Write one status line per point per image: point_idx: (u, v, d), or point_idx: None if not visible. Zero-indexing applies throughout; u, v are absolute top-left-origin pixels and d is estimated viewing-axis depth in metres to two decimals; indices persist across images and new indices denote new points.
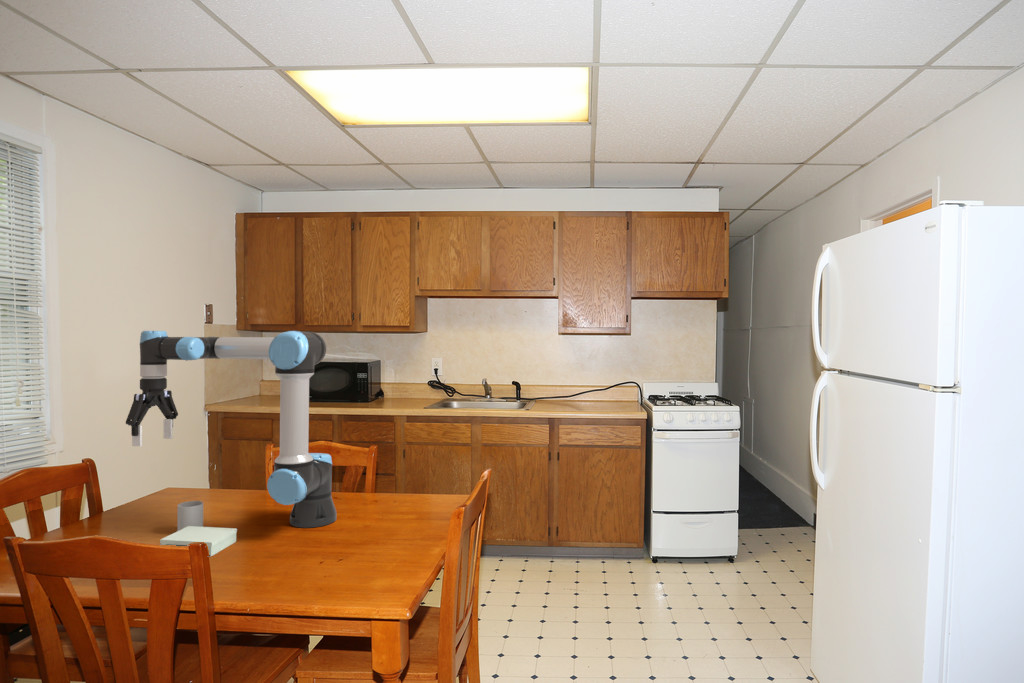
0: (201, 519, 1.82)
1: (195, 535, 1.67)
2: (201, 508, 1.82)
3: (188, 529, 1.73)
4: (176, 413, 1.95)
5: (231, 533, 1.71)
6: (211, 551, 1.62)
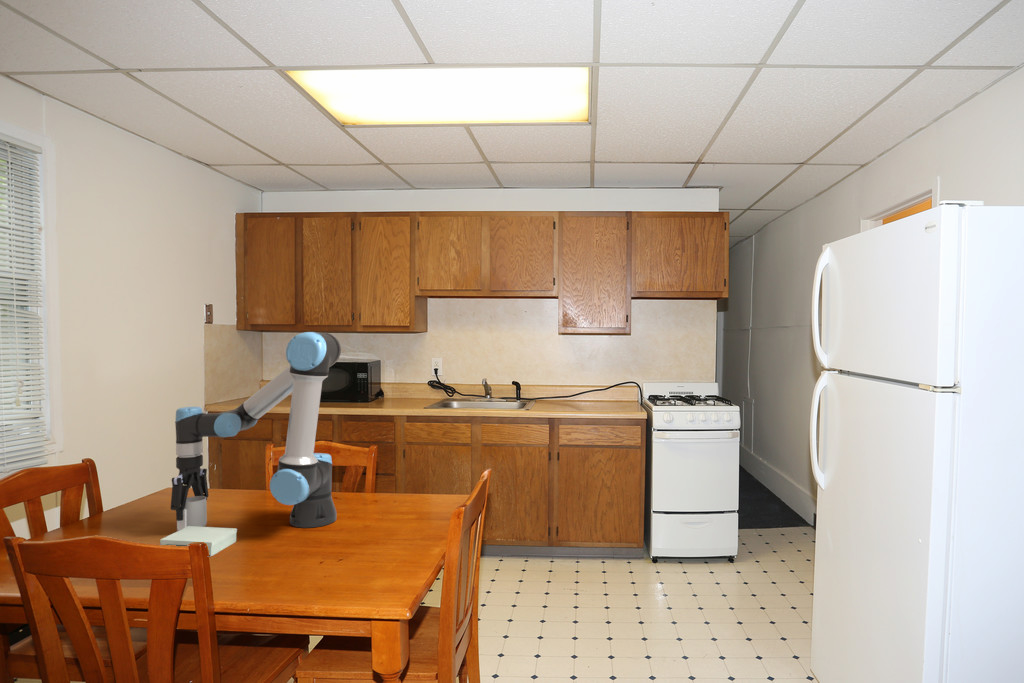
0: (204, 514, 1.83)
1: (195, 535, 1.67)
2: (204, 503, 1.83)
3: (188, 529, 1.73)
4: (207, 494, 1.90)
5: (231, 533, 1.71)
6: (211, 551, 1.62)
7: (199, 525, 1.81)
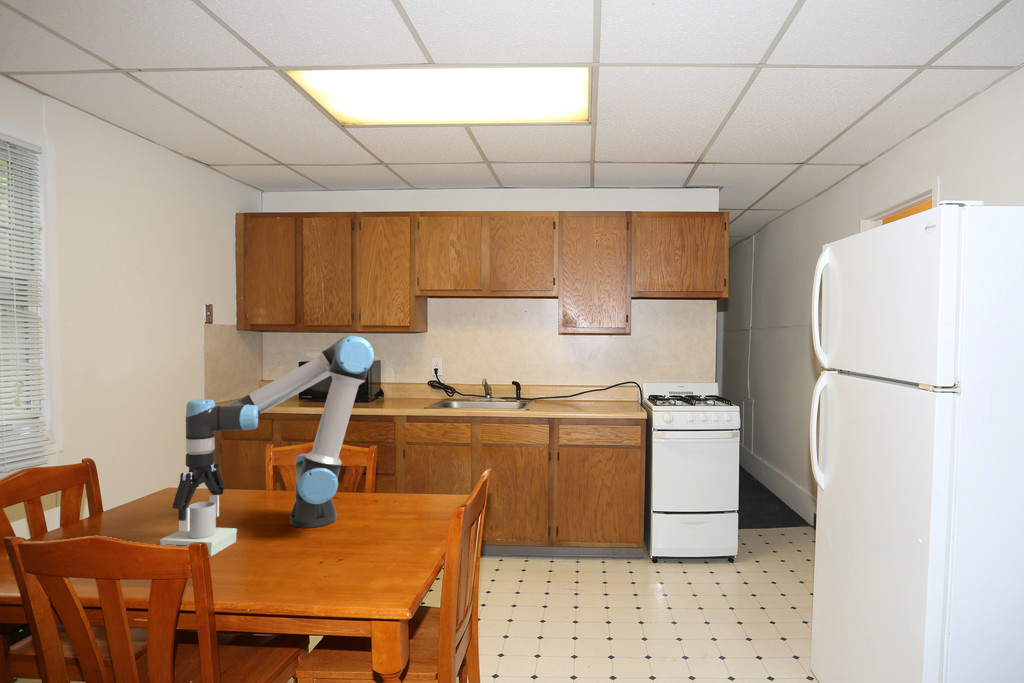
0: (214, 521, 1.68)
1: None
2: (214, 509, 1.68)
3: None
4: (222, 487, 1.78)
5: (231, 533, 1.71)
6: (211, 551, 1.62)
7: (208, 533, 1.66)
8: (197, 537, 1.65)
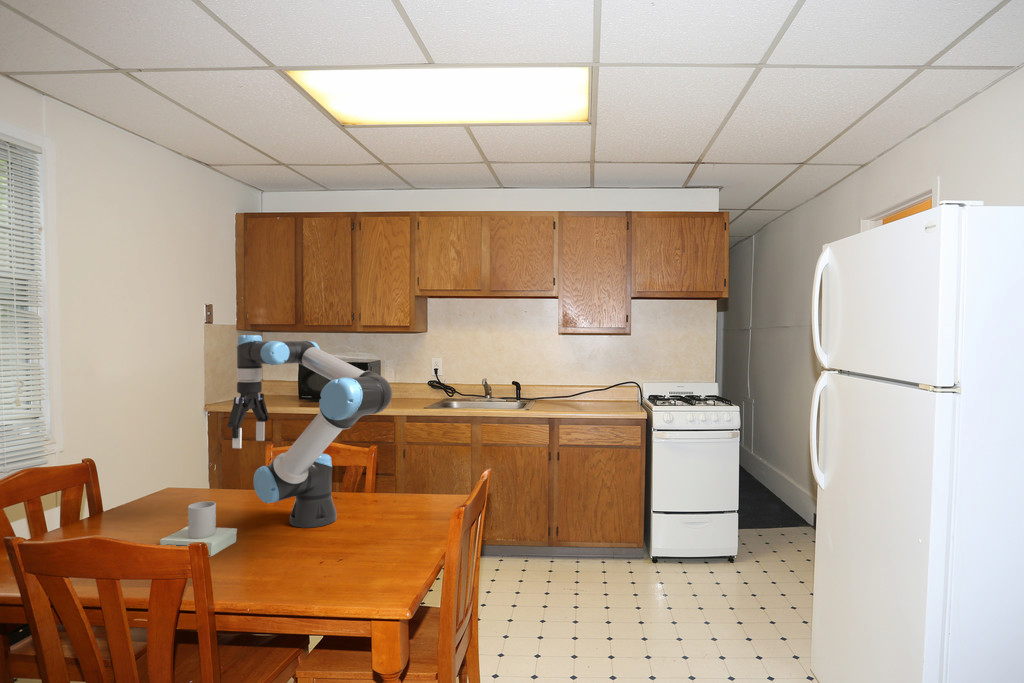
0: (214, 521, 1.68)
1: None
2: (214, 509, 1.68)
3: None
4: (267, 416, 1.99)
5: (231, 533, 1.71)
6: (211, 551, 1.62)
7: (208, 533, 1.66)
8: (197, 537, 1.65)
